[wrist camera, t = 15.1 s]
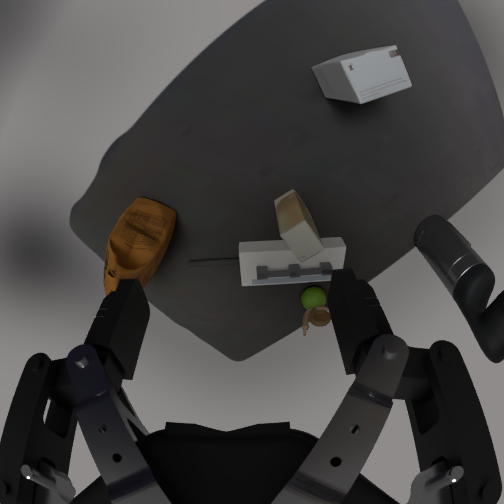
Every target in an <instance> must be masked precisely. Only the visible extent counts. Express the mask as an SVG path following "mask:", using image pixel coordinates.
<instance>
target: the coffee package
mask: <svg viewBox="0 0 504 504" xmlns="http://www.w3.org/2000/svg"><path fill="white" fill-rule="evenodd" d="M175 221H176V212H175V211H174V210H173V209H171V208H168V207H167V206H165V205H163V204H161V203H158V202H156V201H153V200H150V199H147V198H142V197H138V198H137V199H136V200H135V201H134V202H133V204H131V205H130V207H128V208H127V209H126V210H125V211H124V212H123V213H122V215H121V217H120V218H119V220H118V222H117V224H116V226H115V227H114V229H113V231H112V232H111V234H110V236H109V239H108V244H107V249H106V255H105V267H104V288H105V293H106V296H107V295H108V294H109V293H110V292H111V291H115V290H116V288H117V286H118V284H119V282H120V280H121V279H139V280H140V282H141V285H142V288H144V287H145V286H146V284H147V283H148V282H149V280H150V279H151V278H152V276H153V275H154V273H155V271H156V269H157V268H158V266H159V264H160V262H161V260H162V258H163V256H164V254H165V252H166V250H167V248H168V245H169V243H170V240H171V237H172V234H173V230H174V226H175Z"/></svg>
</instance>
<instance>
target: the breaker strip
mask: <svg viewBox="0 0 504 504" xmlns="http://www.w3.org/2000/svg"><path fill="white" fill-rule="evenodd" d="M320 239H321V241H322V244H323V246H324V250H323V251H321V252H320V253H318V254H316V255H315V256H313V257H311V258H309V259H307V260H305V261H304V262H302V263H301V262H300V261H299V259H298V258H297V257H296V256H295V254H294V253H293V252H292V250H291V249H290V248H289V246H288V245H287V244H286V243H285V241H284V240H273V241H254V242H239V258H232V259H214V260H195V261H189V262H188V265H189V266H190V267H195V266H215V265H234V264H240V270H241V280H242V286H254V285H272V284H288V283H303V282H317V281H331V275H326V276H322V275H321V274H319V275H305V276H301V277H296V278H290V276H289V277H273V278H268V279H263V280H257V270H256V266H267V269H268V271H274V270H288V264H299V266H300V268H301V269H307V268H319V262H330V263H331V265H332V267H333V269H343V264H344V258H345V251H346V246H345V244H344V242H343V240H342V238H341V237H332V238H320Z"/></svg>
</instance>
